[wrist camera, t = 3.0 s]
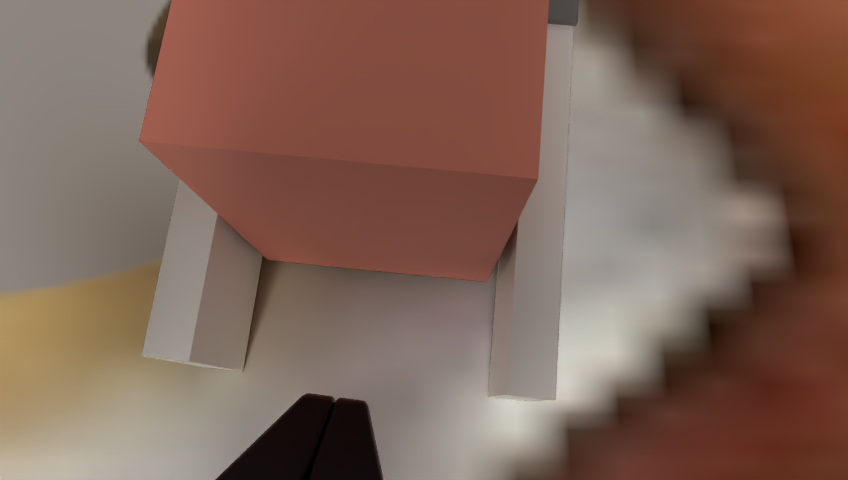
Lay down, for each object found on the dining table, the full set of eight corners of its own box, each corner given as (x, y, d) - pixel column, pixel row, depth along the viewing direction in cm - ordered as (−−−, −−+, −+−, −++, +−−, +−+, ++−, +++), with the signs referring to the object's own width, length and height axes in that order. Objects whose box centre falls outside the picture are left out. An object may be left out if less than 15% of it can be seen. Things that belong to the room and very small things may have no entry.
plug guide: (527, 401, 17) (560, 399, 13) (204, 367, 17) (134, 355, 13) (560, -163, 21) (592, -297, 17) (307, -184, 22) (280, -320, 18)
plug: (486, 282, 17) (537, 178, 9) (267, 260, 17) (138, 140, 9) (502, 82, 19) (558, -149, 11) (301, 63, 19) (213, -177, 11)
